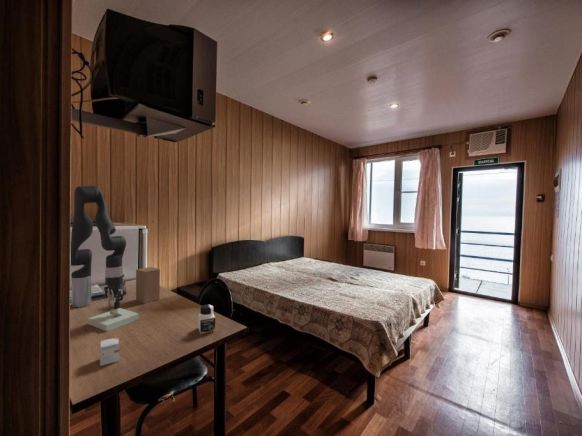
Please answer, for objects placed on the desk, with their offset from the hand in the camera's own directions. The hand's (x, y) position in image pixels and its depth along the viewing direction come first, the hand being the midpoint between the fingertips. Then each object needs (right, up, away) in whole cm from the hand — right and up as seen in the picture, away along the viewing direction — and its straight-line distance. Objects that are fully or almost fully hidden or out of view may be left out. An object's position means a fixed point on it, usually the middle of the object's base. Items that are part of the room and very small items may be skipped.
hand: (114, 307), depth 138 cm
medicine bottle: (+49, -9, -5) cm, 51 cm away
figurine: (-26, -5, +42) cm, 49 cm away
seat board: (0, -7, 0) cm, 7 cm away
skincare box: (+20, -10, -33) cm, 40 cm away
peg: (0, -3, 0) cm, 3 cm away
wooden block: (0, -6, +33) cm, 33 cm away
